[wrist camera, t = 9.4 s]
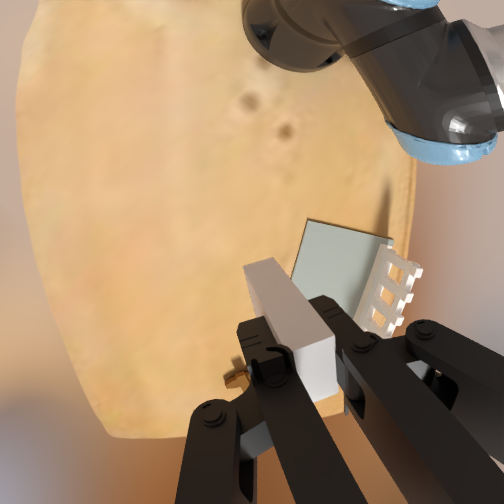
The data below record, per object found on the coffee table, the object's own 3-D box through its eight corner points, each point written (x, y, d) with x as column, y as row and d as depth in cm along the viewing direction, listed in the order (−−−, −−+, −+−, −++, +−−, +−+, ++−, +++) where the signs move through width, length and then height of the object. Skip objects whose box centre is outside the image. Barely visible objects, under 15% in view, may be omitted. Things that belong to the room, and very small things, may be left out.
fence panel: (356, 339, 52) (380, 368, 44) (349, 339, 51) (373, 368, 43) (390, 248, 47) (424, 267, 38) (383, 246, 46) (417, 266, 38)
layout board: (307, 220, 43) (308, 220, 42) (393, 240, 47) (394, 240, 47) (265, 361, 50) (265, 362, 49) (345, 360, 54) (346, 361, 54)
